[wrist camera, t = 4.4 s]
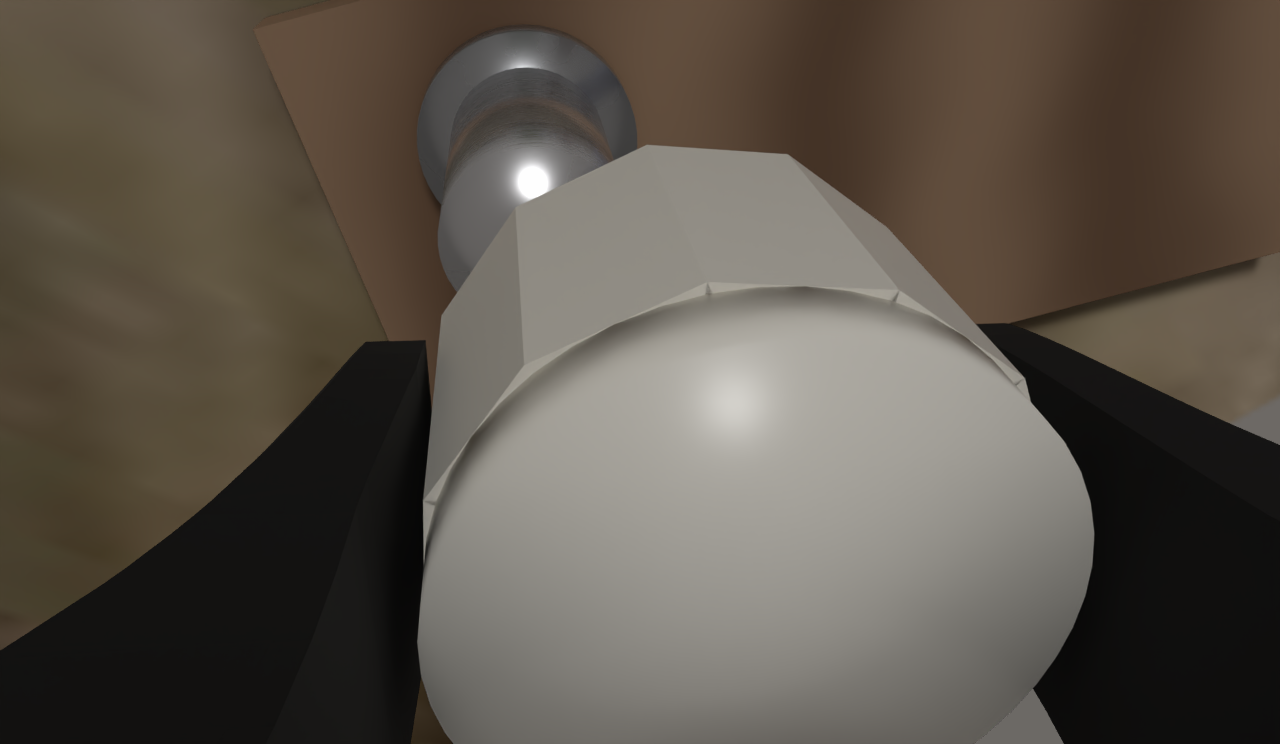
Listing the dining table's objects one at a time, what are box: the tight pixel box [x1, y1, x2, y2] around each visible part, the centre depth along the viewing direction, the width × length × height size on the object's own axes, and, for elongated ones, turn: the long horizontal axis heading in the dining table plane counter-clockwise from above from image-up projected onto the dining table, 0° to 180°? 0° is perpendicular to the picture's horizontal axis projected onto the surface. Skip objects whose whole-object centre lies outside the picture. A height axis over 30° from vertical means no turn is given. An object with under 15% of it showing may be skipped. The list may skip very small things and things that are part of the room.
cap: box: [417, 145, 1094, 744], centre depth 9 cm, size 6×6×4 cm
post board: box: [253, 0, 1280, 406], centre depth 17 cm, size 20×10×6 cm, turn 103°
